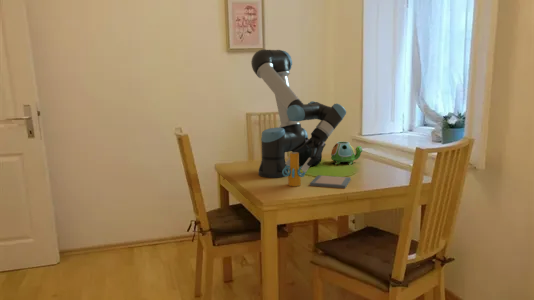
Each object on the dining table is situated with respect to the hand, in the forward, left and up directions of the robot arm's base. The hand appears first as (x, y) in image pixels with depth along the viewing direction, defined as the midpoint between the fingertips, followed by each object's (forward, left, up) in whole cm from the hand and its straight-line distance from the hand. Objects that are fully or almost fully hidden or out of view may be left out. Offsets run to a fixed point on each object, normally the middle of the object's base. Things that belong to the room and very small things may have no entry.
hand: (294, 168), depth 192 cm
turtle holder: (+14, +58, -8) cm, 60 cm away
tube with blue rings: (0, +1, -8) cm, 8 cm away
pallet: (+15, +10, -8) cm, 20 cm away
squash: (-5, +46, -8) cm, 47 cm away
